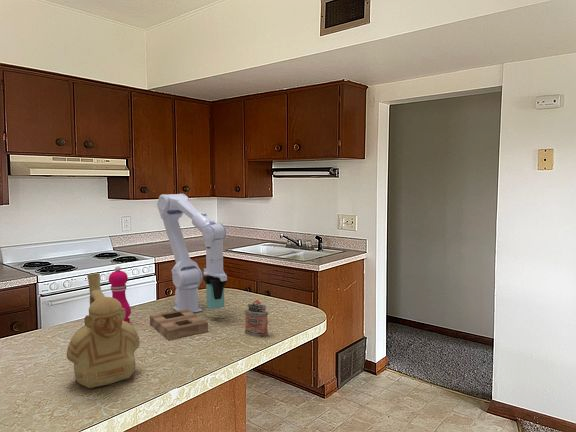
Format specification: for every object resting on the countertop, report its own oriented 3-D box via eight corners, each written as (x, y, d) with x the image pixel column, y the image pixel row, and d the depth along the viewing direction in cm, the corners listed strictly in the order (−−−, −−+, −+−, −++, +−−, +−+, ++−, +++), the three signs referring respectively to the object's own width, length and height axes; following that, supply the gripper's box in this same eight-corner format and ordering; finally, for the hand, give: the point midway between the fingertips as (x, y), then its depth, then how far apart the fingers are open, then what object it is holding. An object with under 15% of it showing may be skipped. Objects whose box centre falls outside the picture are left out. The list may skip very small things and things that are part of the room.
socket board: (150, 324, 152) (149, 315, 151) (186, 317, 159) (186, 308, 159) (168, 340, 137) (168, 330, 137) (208, 331, 144) (207, 322, 144)
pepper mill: (135, 321, 154) (133, 264, 152) (125, 329, 147) (123, 268, 145) (115, 321, 155) (112, 264, 153) (104, 328, 148) (101, 268, 146)
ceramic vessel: (74, 402, 100) (68, 291, 97) (62, 370, 116) (57, 275, 114) (151, 382, 109) (147, 280, 107) (130, 355, 125) (126, 267, 123)
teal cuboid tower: (206, 307, 156) (206, 284, 155) (219, 304, 159) (219, 282, 158) (211, 309, 153) (210, 286, 153) (224, 307, 156) (224, 284, 155)
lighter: (242, 333, 142) (242, 302, 141) (248, 330, 145) (248, 300, 144) (264, 338, 138) (264, 306, 137) (270, 334, 141) (269, 303, 140)
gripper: (195, 257, 158) (196, 294, 160) (213, 263, 146) (213, 304, 148) (213, 254, 162) (214, 291, 164) (232, 261, 150) (232, 300, 152)
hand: (215, 297), depth 156 cm, fingers closed on teal cuboid tower, 3 cm apart
